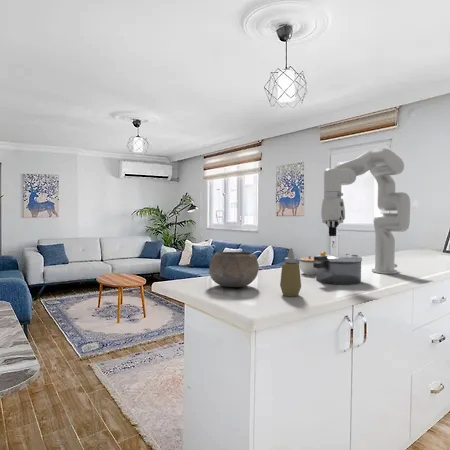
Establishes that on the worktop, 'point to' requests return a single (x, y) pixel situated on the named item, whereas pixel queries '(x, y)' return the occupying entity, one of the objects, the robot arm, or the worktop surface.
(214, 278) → the clay pot
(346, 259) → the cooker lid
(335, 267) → the cooker pot
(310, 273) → the lidded jar
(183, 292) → the worktop surface
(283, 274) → the squeeze bottle
